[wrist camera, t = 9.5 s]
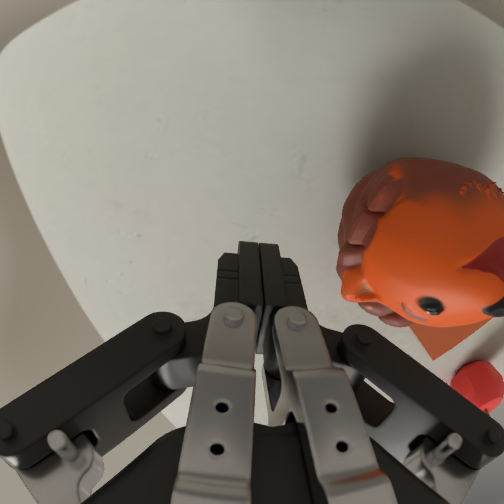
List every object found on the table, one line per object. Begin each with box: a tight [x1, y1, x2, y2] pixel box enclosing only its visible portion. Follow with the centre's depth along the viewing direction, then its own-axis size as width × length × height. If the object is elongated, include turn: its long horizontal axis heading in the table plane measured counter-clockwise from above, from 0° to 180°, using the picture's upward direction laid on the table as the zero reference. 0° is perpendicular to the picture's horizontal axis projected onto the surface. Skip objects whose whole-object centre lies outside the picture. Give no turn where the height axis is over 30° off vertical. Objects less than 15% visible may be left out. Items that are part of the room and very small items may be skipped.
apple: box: [450, 361, 504, 415], centre depth 30 cm, size 8×8×8 cm
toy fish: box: [336, 158, 504, 327], centre depth 16 cm, size 12×10×11 cm
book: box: [410, 317, 493, 360], centre depth 25 cm, size 14×11×1 cm
